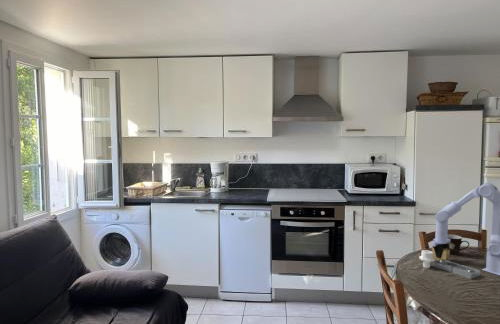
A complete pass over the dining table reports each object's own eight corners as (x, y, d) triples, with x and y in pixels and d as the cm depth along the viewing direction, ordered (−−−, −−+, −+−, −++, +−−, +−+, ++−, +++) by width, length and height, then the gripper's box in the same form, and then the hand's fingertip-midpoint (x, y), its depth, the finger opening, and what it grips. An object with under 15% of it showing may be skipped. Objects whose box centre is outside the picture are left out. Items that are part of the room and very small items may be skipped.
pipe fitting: (430, 264, 183) (430, 249, 182) (435, 269, 176) (436, 254, 175) (417, 263, 184) (418, 249, 183) (422, 269, 177) (423, 253, 176)
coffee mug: (440, 252, 202) (441, 235, 201) (450, 250, 206) (451, 233, 205) (459, 258, 192) (460, 241, 191) (469, 256, 195) (470, 239, 194)
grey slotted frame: (479, 275, 169) (480, 269, 169) (470, 279, 165) (471, 272, 164) (443, 263, 184) (443, 258, 184) (434, 266, 180) (434, 260, 180)
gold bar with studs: (449, 261, 187) (449, 248, 186) (445, 262, 186) (446, 249, 185) (434, 257, 194) (435, 244, 193) (431, 258, 192) (432, 245, 192)
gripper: (441, 229, 196) (440, 252, 197) (426, 232, 188) (425, 257, 189) (454, 232, 190) (453, 256, 191) (439, 235, 182) (437, 261, 183)
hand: (440, 257), depth 190 cm, fingers closed on gold bar with studs, 3 cm apart
